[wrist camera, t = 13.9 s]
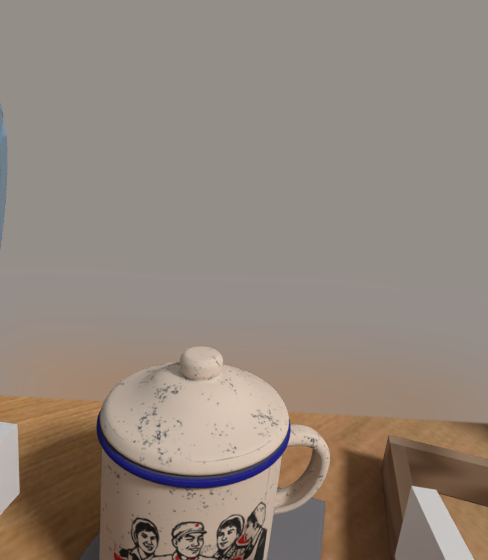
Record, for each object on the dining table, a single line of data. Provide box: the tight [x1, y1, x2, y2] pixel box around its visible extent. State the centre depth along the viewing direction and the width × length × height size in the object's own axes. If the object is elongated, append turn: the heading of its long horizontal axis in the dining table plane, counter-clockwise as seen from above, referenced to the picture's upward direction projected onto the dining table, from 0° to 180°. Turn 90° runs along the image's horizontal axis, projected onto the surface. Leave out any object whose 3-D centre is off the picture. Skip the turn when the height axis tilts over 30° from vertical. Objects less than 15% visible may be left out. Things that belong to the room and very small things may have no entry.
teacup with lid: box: [97, 347, 330, 560], centre depth 19 cm, size 12×9×12 cm
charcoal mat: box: [78, 487, 325, 560], centre depth 20 cm, size 12×12×1 cm
